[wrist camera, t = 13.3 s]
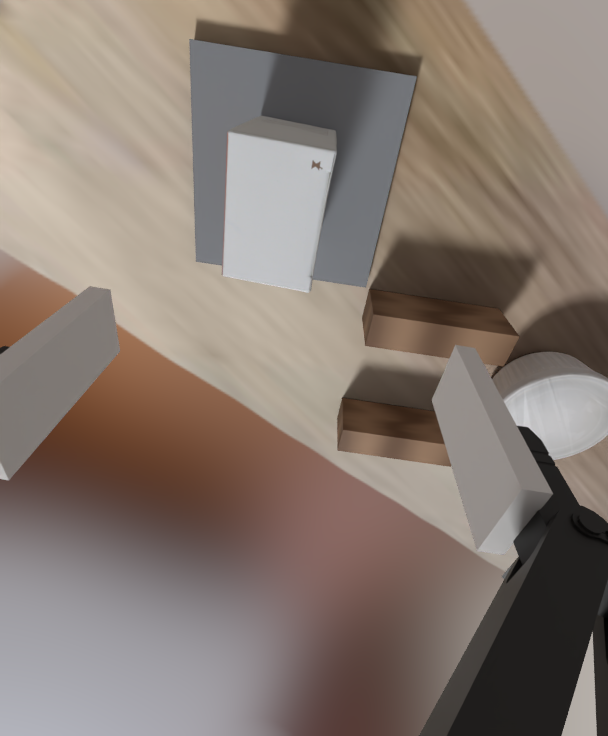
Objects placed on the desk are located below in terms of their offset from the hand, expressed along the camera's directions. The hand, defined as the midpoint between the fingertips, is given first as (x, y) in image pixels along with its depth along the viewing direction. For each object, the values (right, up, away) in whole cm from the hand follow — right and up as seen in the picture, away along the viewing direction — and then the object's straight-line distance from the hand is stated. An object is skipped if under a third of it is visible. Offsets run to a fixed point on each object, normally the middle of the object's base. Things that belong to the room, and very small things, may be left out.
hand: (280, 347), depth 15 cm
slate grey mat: (0, +14, +15) cm, 21 cm away
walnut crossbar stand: (+12, -1, +25) cm, 28 cm away
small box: (0, +14, +15) cm, 20 cm away
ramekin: (+25, -3, +26) cm, 36 cm away
